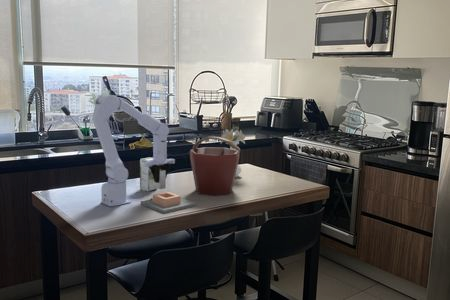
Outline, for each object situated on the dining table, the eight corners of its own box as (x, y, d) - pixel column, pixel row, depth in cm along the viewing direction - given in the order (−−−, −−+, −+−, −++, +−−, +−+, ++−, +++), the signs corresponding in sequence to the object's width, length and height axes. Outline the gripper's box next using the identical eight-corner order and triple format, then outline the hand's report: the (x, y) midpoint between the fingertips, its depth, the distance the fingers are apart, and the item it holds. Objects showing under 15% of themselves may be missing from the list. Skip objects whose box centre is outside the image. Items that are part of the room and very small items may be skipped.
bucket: (249, 193, 204) (251, 138, 200) (212, 201, 189) (213, 142, 185) (214, 183, 222) (215, 132, 218) (178, 189, 207) (178, 135, 203)
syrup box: (149, 187, 210) (149, 156, 208) (158, 189, 207) (157, 158, 204) (139, 189, 206) (139, 158, 204) (148, 191, 202) (148, 160, 200)
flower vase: (242, 172, 247) (243, 127, 243) (245, 180, 229) (247, 131, 225) (218, 172, 247) (219, 126, 243) (220, 179, 229) (221, 130, 225)
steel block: (159, 189, 192) (159, 171, 190) (154, 187, 195) (154, 169, 193) (165, 188, 194) (165, 170, 193) (160, 186, 197) (160, 168, 195)
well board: (164, 213, 171) (164, 202, 170) (140, 204, 182) (140, 194, 182) (196, 205, 182) (196, 195, 181) (172, 197, 193) (172, 188, 193)
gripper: (150, 153, 184) (151, 185, 186) (179, 150, 194) (178, 181, 196) (141, 151, 189) (141, 182, 191) (169, 148, 199) (169, 178, 201)
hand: (159, 181), depth 194 cm, fingers closed on steel block, 3 cm apart
